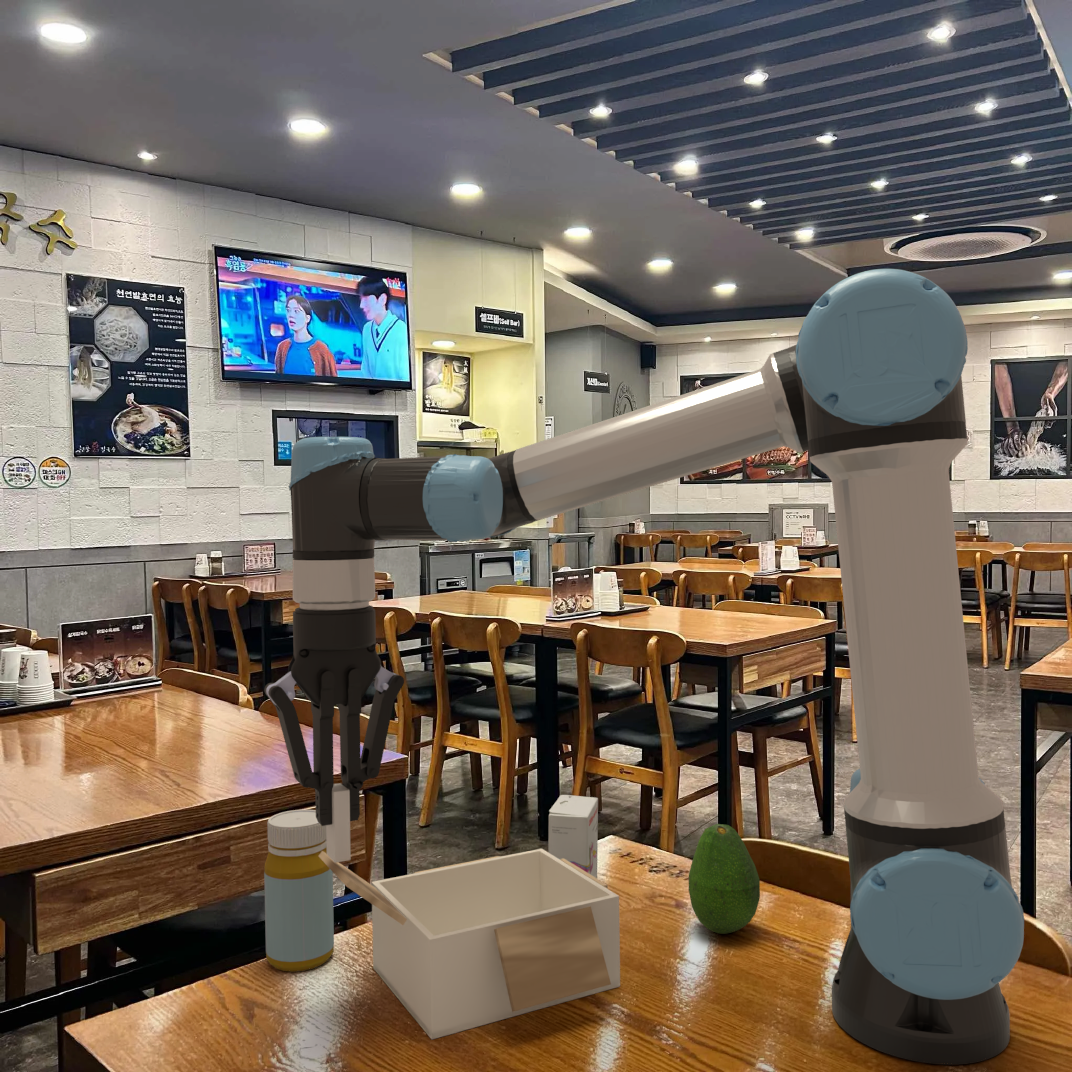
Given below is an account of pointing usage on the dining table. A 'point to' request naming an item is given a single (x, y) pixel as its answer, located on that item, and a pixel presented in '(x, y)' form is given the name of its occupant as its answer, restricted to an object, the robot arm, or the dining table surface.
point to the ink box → (575, 831)
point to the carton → (478, 933)
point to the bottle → (297, 893)
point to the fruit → (723, 881)
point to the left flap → (362, 888)
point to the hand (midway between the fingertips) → (338, 856)
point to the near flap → (551, 958)
